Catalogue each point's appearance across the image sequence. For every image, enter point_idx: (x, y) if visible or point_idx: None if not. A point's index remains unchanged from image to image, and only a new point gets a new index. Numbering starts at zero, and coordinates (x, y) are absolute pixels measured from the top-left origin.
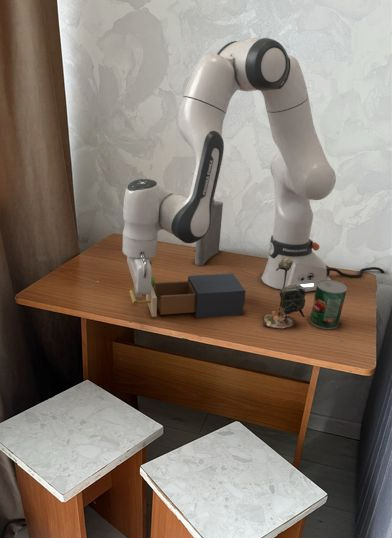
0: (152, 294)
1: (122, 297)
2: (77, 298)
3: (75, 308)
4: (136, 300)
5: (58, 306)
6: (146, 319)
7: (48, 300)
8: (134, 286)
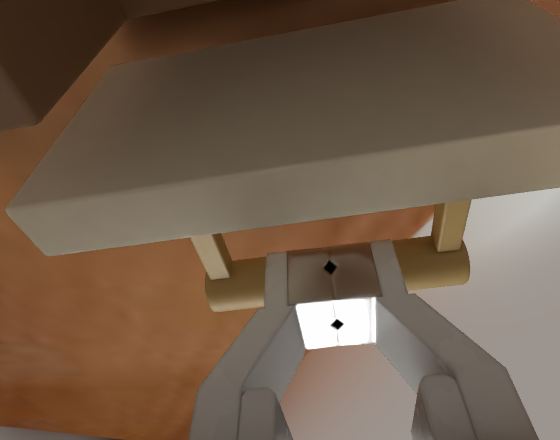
0: (530, 175)
1: None
2: (187, 373)
3: None
4: (452, 269)
5: None
6: None
7: None
8: (297, 363)
